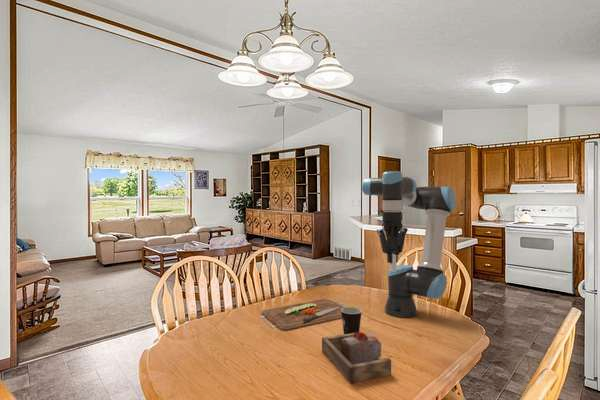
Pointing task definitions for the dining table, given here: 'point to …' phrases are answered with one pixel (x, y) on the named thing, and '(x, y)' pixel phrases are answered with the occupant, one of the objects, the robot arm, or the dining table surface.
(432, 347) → the dining table surface
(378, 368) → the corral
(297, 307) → the chopping board
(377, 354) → the food item
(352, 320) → the coffee mug
